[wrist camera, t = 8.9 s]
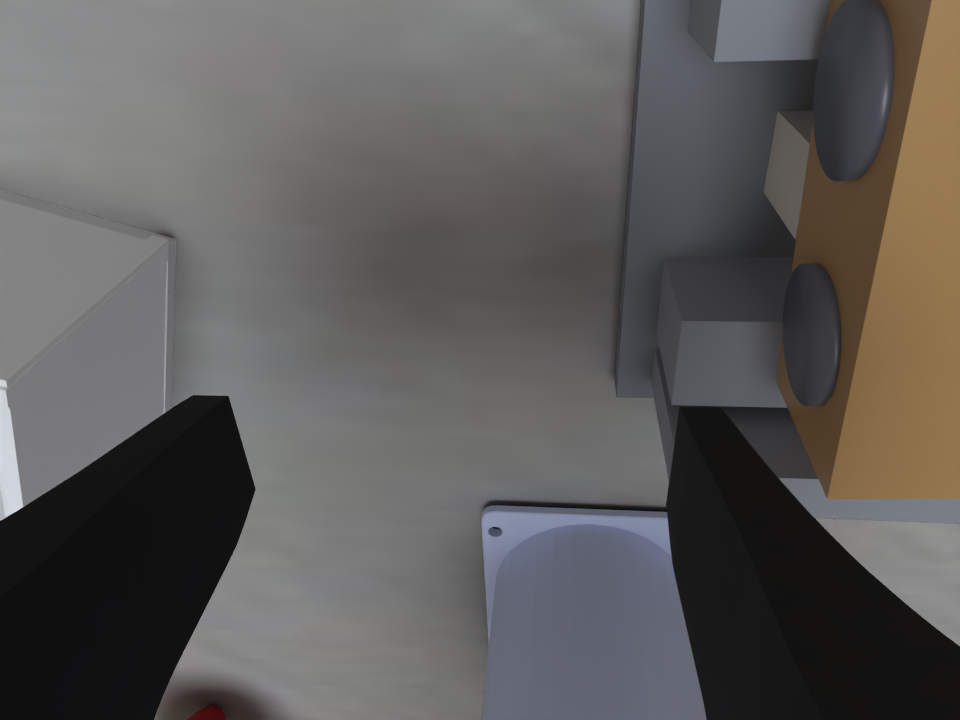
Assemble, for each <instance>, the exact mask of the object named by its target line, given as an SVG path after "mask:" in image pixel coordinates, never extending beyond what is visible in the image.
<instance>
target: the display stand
mask: <svg viewBox="0 0 960 720" xmlns="http://www.w3.org/2000/svg"><path fill="white" fill-rule="evenodd" d="M829 4H830V0H641V9H640V23H639V37H638V52H637V66H636V81H635V95H634V109H633V124H632V138H631V152H630V167H629V181H628V196H627V210H626V224H625V239H624V253H623V268H622V282H621V296H620V311H619V325H618V339H617V354H616V368H615V386H616V396H617V397H635V398H654V399H655V405H656V410H657V416H658V422H659V427H660V433H661V439H662V444H663V450H664V456H665V461H666V467H667V473H668V478H669V481H670V473H671V466H672V458H673V451H674V443H675V435H676V428H677V420H678V413H679V406H686V407H721V408H722V409H723V410H724V411H725V412H726V414H727V415H728V416H729V417H730V419H731V420H732V421H733V422H734V424H735V425H736V426H737V428H738V429H739V430H740V431H741V433H742V434H743V435H744V436H745V438H746V439H747V440H748V442H749V443H750V444H751V445H752V447H753V448H754V449H755V450H756V451H757V453H758V454H759V455H760V456H761V458H762V459H763V460H764V461H765V462H766V464H767V465H768V466H769V467H770V469H771V470H772V471H773V472H774V473H775V474H776V476H777V477H778V478H779V479H780V480H781V481H782V483H783V484H784V485H785V486H786V487H787V488H788V489H789V490H790V492H791V493H792V494H793V495H794V496H795V497H796V498H797V499H798V500H799V502H800V503H801V504H802V505H803V506H804V507H805V508H806V509H807V511H808V512H809V513H810V514H811V515H812V516H813V517H814V518H824V519H850V520H876V521H901V522H927V523H953V524H960V499H827V498H826V496H825V493H824V491H823V489H822V486H821V484H820V482H819V479H818V477H817V475H816V472H815V470H814V468H813V465H812V463H811V461H810V459H809V456H808V454H807V452H806V449H805V447H804V445H803V442H802V440H801V438H800V435H799V433H798V431H797V429H796V426H795V424H794V422H793V419H792V417H791V415H790V412H789V410H788V408H787V405H786V403H785V401H784V399H783V396H782V394H781V392H780V389H779V387H778V385H777V382H776V379H777V372H778V365H779V358H780V351H781V344H782V337H783V310H784V301H785V295H786V290H787V286H788V283H789V280H790V277H791V273H792V266H793V259H794V252H795V245H796V238H797V231H798V224H799V217H800V209H801V202H802V195H803V188H804V181H805V174H806V167H807V160H808V153H809V146H810V139H811V132H812V125H813V101H814V87H815V78H816V71H817V65H818V60H819V55H820V51H821V47H822V43H823V40H824V37H825V33H826V26H827V19H828V12H829Z"/></svg>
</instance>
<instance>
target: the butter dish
mask: <svg viewBox="0 0 960 720" xmlns="http://www.w3.org/2000/svg"><path fill="white" fill-rule="evenodd" d="M176 244H177V239H175V238H171V237H168V236H164V235H161V234H157V233H153V232H150V231H146V230H143V229H139V228H136V227H132V226H129V225H125V224H122V223H118V222H114V221H111V220H107V219H104V218H100V217H97V216H93V215H90V214H86V213H83V212H79V211H75V210H72V209H68V208H65V207H61V206H58V205H54V204H51V203H47V202H44V201H40V200H36V199H33V198H29V197H26V196H22V195H19V194H15V193H12V192H8V191H5V190H1V189H0V521H1V520H3V519H4V518H6V517H8V516H9V515H11V514H13V513H14V512H16V511H18V510H19V509H21V508H22V507H24V506H26V505H27V504H29V503H30V502H32V501H33V500H35V499H37V498H38V497H40V496H41V495H43V494H45V493H46V492H48V491H49V490H51V489H52V488H54V487H56V486H57V485H59V484H60V483H62V482H63V481H65V480H67V479H68V478H70V477H71V476H73V475H74V474H76V473H78V472H79V471H81V470H82V469H84V468H85V467H87V466H88V465H89V464H91V463H92V462H94V461H95V460H97V459H98V458H100V457H101V456H103V455H104V454H106V453H107V452H109V451H110V450H111V449H113V448H114V447H116V446H117V445H119V444H120V443H122V442H123V441H125V440H126V439H128V438H129V437H130V436H132V435H133V434H135V433H136V432H138V431H139V430H141V429H142V428H143V427H145V426H146V425H148V424H149V423H151V422H152V421H154V420H155V419H157V418H158V417H160V416H161V415H162V414H164V413H165V412H167V411H169V410H170V409H172V389H173V353H174V316H175V280H176Z"/></svg>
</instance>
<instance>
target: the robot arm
mask: <svg viewBox="0 0 960 720" xmlns="http://www.w3.org/2000/svg"><path fill="white" fill-rule="evenodd" d="M254 492H255V486H254V482H253V479H252V476H251V472H250V469H249V465H248V462H247V458H246V455H245V451H244V448H243V445H242V441H241V438H240V434H239V431H238V427H237V424H236V420H235V417H234V414H233V410H232V407H231V403H230V400H229V396H202V395H193V396H191V397H189V398H188V399H186V400H184V401H183V402H181V403H179V404H178V405H176V406H175V407H173V408H172V409H170V410H169V411H167V412H165V413H164V414H162V415H161V416H160V417H158V418H157V419H155V420H154V421H152V422H151V423H149V424H148V425H146V426H145V427H143V428H142V429H141V430H139V431H138V432H136V433H135V434H133V435H132V436H130V437H129V438H128V439H126V440H125V441H123V442H122V443H120V444H119V445H117V446H116V447H114V448H113V449H111V450H110V451H109V452H107V453H106V454H104V455H103V456H101V457H100V458H98V459H97V460H95V461H94V462H92V463H91V464H89V465H88V466H87V467H85V468H84V469H82V470H81V471H79V472H78V473H76V474H74V475H73V476H71V477H70V478H68V479H67V480H65V481H63V482H62V483H60V484H59V485H57V486H56V487H54V488H52V489H51V490H49V491H48V492H46V493H45V494H43V495H41V496H40V497H38V498H37V499H35V500H33V501H32V502H30V503H29V504H27V505H26V506H24V507H22V508H21V509H19V510H18V511H16V512H14V513H13V514H11V515H9V516H8V517H6V518H4V519H3V520H1V521H0V720H154V717H155V715H156V712H157V709H158V707H159V704H160V702H161V699H162V696H163V694H164V692H165V689H166V687H167V685H168V683H169V681H170V678H171V676H172V674H173V672H174V670H175V667H176V665H177V663H178V661H179V659H180V657H181V655H182V653H183V651H184V649H185V647H186V646H187V644H188V642H189V640H190V638H191V636H192V634H193V632H194V630H195V628H196V626H197V624H198V622H199V620H200V618H201V616H202V614H203V612H204V610H205V608H206V606H207V604H208V602H209V600H210V598H211V596H212V594H213V592H214V590H215V588H216V586H217V584H218V582H219V580H220V578H221V576H222V574H223V572H224V570H225V568H226V566H227V564H228V562H229V560H230V558H231V556H232V554H233V551H234V549H235V547H236V545H237V543H238V540H239V537H240V534H241V532H242V529H243V526H244V523H245V520H246V517H247V514H248V511H249V508H250V505H251V502H252V499H253V495H254ZM666 506H667V512H654V511H628V510H602V509H576V508H551V507H525V506H499V505H494V506H489V507H486V508H485V509H484V510H483V512H482V518H481V526H482V543H483V559H484V576H485V593H486V609H487V626H488V643H489V650H488V659H487V669H486V679H485V689H484V699H483V708H482V718H481V720H960V646H958V645H957V644H956V643H954V642H953V641H952V640H950V639H949V638H948V637H946V636H945V635H944V634H942V633H941V632H940V631H939V630H937V629H936V628H935V627H933V626H932V625H931V624H930V623H929V622H927V621H926V620H925V619H924V618H922V617H921V616H920V615H919V614H917V613H916V612H915V611H914V610H912V609H911V608H910V607H909V606H908V605H906V604H905V603H904V602H903V601H902V600H901V599H900V598H898V597H897V596H896V595H895V594H894V593H893V592H891V591H890V590H889V589H888V588H887V587H886V586H885V585H883V584H882V583H881V582H880V581H879V580H878V579H876V578H875V577H874V576H873V575H872V574H871V573H869V572H868V571H867V570H866V569H865V568H864V567H863V566H862V565H861V564H860V563H859V562H858V561H857V560H856V559H855V558H853V557H852V556H851V555H850V554H849V553H848V552H847V551H846V550H845V549H844V548H843V547H842V546H841V545H840V544H839V543H838V542H837V541H836V540H835V539H834V538H833V537H832V536H831V535H830V534H829V533H828V532H827V531H826V530H825V529H824V528H823V527H822V525H821V524H820V523H819V522H818V521H817V520H816V519H815V518H814V517H813V516H812V515H811V514H810V513H809V512H808V511H807V509H806V508H805V507H804V506H803V505H802V504H801V503H800V502H799V500H798V499H797V498H796V497H795V496H794V495H793V494H792V493H791V492H790V490H789V489H788V488H787V487H786V486H785V485H784V484H783V483H782V481H781V480H780V479H779V478H778V477H777V476H776V474H775V473H774V472H773V471H772V470H771V469H770V467H769V466H768V465H767V464H766V462H765V461H764V460H763V459H762V458H761V456H760V455H759V454H758V453H757V451H756V450H755V449H754V448H753V447H752V445H751V444H750V443H749V442H748V440H747V439H746V438H745V436H744V435H743V434H742V433H741V431H740V430H739V429H738V428H737V426H736V425H735V424H734V422H733V421H732V420H731V419H730V417H729V416H728V415H727V414H726V412H725V411H724V410H723V409H722V408H721V407H686V406H679V413H678V420H677V428H676V435H675V443H674V451H673V458H672V466H671V473H670V481H669V488H668V496H667V503H666ZM491 527H498V528H500V529H493V528H491Z"/></svg>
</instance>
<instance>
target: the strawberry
mask: <svg viewBox="0 0 960 720" xmlns="http://www.w3.org/2000/svg"><path fill="white" fill-rule="evenodd" d="M187 720H226V716H225V713H224V712H223V710H222V709H221V708H219V707H217V706H207V707H204V708H202V709H200V710H199V711H197V712H196V713H195V714H194V715H193V716H191V717H190V718H189V719H187Z"/></svg>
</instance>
